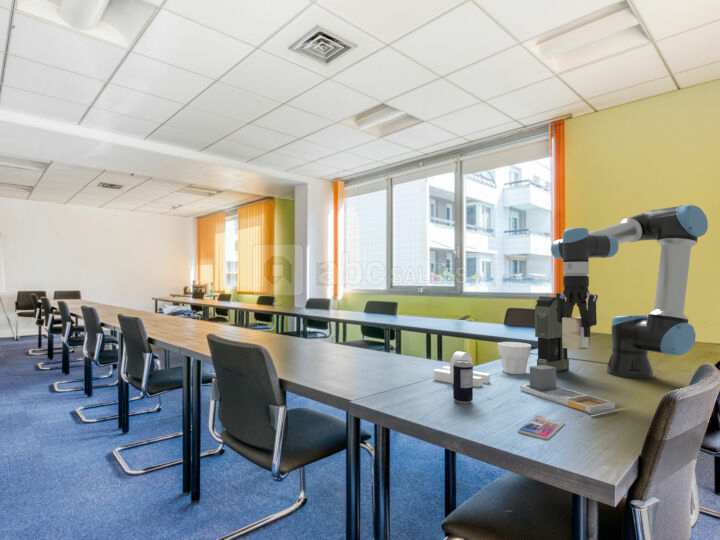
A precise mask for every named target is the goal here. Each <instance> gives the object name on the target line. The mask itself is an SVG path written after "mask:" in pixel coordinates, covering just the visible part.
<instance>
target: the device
mask: <svg viewBox="0 0 720 540" xmlns="http://www.w3.org/2000/svg"><path fill="white" fill-rule="evenodd" d="M565 303H566V300H565ZM534 304H535V305H534V337H535V338H537V359H536V366H539V365H547V366H551V367H555V368H556V375H557V374H561V373H566V372H569V371H570V358H568V349H567V348H563V347H562V323H560V322H558V321H557V297H556V296H541V295H539V297H538V299H537V300H536V299H535V302H534ZM565 307H566V304H565Z"/></svg>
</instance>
